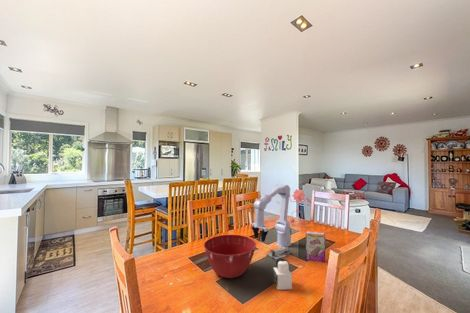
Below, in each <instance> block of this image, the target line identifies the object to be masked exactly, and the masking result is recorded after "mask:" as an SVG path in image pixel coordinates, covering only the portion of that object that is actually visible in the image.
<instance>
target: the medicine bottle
mask: <svg viewBox="0 0 470 313" xmlns="http://www.w3.org/2000/svg"><path fill="white" fill-rule="evenodd" d="M289 264H290V262H289V260H288V259H285V258H282V259H277V260H275V267H274V266H273V267H272V269H273V274H272V276H273V277H272V279H273V284H274V286H275V287H276V290H277V291H282V290H293V274H292V272H291V271H290V270H289V268H290V266H289Z"/></svg>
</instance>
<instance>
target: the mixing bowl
mask: <svg viewBox="0 0 470 313" xmlns="http://www.w3.org/2000/svg"><path fill="white" fill-rule="evenodd" d="M203 248H204V249H205V250H204V251H205V254H206V255H205V256H206V257H207V260H208V263H209V265H210V267H211V269H212V270H213V272H214V273H215V274H216V275H218V276H219V277H221V278H225V279H234V278H238V277H240V276H242V275H243V274H245V272H246V271H247V270H248V268H249V266H250V264H251V261H252V259H253V257H254V253H255V249H256V248H257V243H256V241H255V240H254V239H252V238H250V237H248V236H245V235H239V234H222V235H217V236H213V237H210V238H209V239H207V240H205V241H204V243H203Z"/></svg>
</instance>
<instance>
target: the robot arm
mask: <svg viewBox="0 0 470 313" xmlns="http://www.w3.org/2000/svg"><path fill="white" fill-rule="evenodd" d="M276 195H279V196H280V197H281V202H280V209H279V210H280V211H279V219H276V222H275V225H274V230H275V231H276V233H277V237H276V238H277V242H276V243H274V244H275V245H276V246H278V247H279V248H282V246H287V247H291V246H292V235H291V233H290V232H291V227H290V226H291V222H289V221H288V213H289V211H288V210H289V204H290V203H289V202H290V197H291V187H290V185H288V184H278V183H276V184H275V185H274V187H273V188H272V189H271V191H270V192H269V193H265V194H263V196H262V197H261V198H259V199H258V200H255V201H254V203H253V208H254V212H255V215H254V216H255V218H254V219H255V221H254V222H252V224H251V230H252V232H253V236H254V238H255V239H258V238H259V233H260V239H261V242H262V243H263V242H265V241H266V237H267V235H268V233H269V230H268V227H266V226H265V209H266V208H267V205H269V203H270V202H271V201H272V198H273V197H275V196H276ZM289 196H290V197H289Z"/></svg>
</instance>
